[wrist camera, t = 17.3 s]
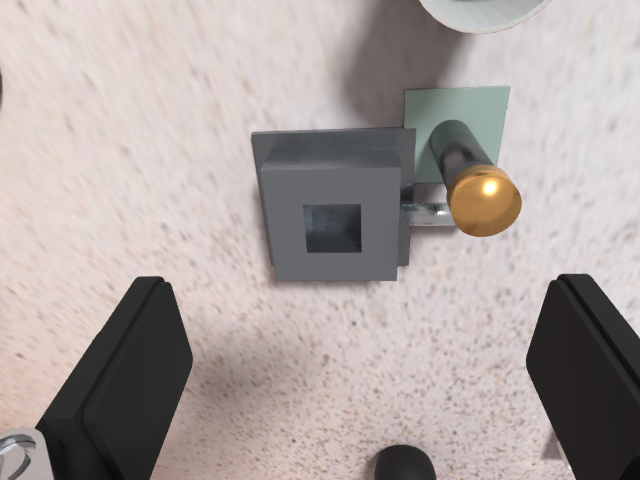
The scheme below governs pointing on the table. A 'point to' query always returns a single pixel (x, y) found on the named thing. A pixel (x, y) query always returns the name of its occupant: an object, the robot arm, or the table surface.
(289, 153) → the block
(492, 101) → the pad
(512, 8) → the coffee mug
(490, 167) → the grey and gold cylinder
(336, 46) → the table surface
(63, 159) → the table surface
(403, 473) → the cola bottle
